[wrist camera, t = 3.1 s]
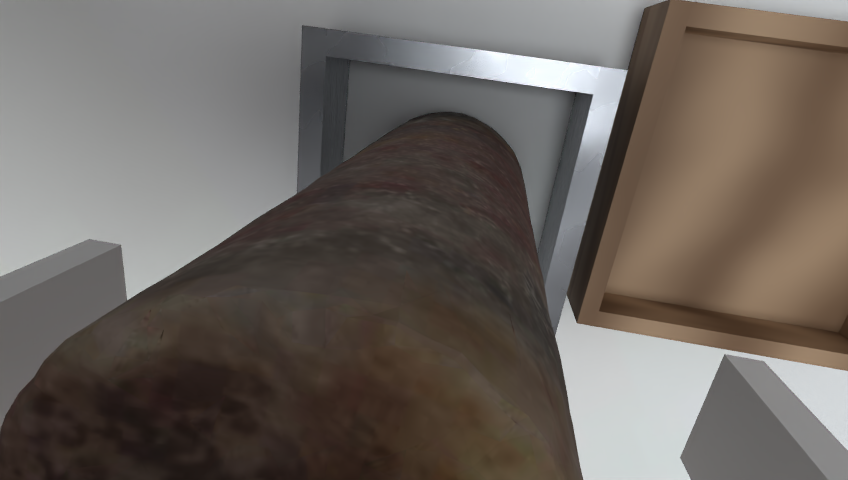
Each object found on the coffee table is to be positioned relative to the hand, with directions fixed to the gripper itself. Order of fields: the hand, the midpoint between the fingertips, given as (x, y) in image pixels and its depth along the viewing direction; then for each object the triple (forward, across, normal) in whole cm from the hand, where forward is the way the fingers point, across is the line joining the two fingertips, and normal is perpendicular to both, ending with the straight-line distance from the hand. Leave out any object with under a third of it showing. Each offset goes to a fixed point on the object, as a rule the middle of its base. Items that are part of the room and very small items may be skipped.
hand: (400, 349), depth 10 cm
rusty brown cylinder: (+14, 0, 0) cm, 14 cm away
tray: (+14, +14, +2) cm, 20 cm away
